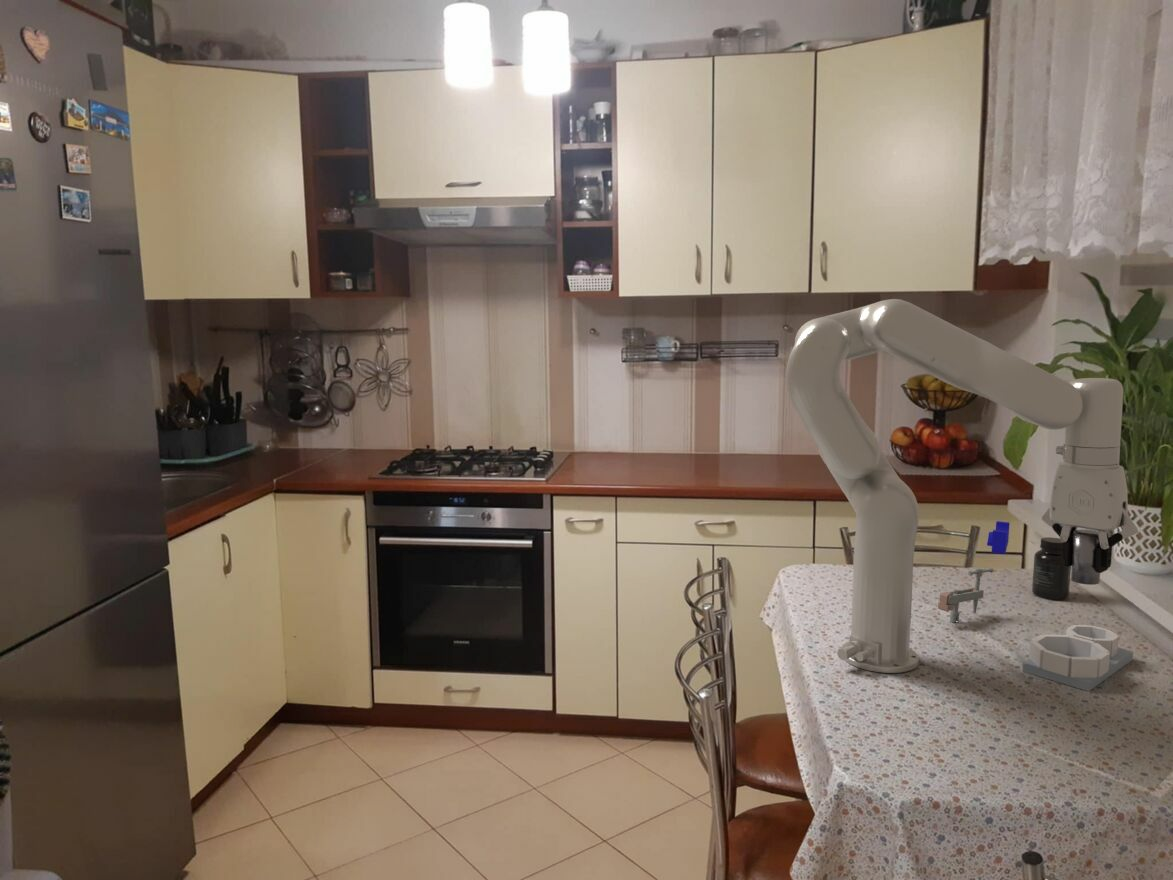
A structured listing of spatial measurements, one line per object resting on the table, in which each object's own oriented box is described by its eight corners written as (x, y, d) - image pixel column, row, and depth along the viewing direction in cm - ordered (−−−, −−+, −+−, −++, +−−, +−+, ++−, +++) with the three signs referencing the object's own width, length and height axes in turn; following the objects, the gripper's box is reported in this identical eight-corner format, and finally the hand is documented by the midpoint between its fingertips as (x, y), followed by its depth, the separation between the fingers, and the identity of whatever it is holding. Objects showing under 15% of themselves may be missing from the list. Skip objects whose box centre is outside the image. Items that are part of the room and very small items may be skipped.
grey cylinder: (1093, 586, 133) (1095, 537, 132) (1066, 580, 136) (1068, 532, 135) (1104, 581, 135) (1106, 532, 134) (1077, 575, 138) (1079, 528, 137)
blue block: (988, 542, 219) (990, 520, 218) (1008, 545, 216) (1009, 522, 215) (984, 553, 208) (986, 530, 207) (1004, 556, 206) (1006, 532, 205)
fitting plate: (1090, 692, 130) (1092, 665, 130) (1019, 671, 138) (1021, 645, 138) (1134, 660, 142) (1136, 634, 142) (1067, 642, 151) (1069, 618, 150)
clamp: (946, 626, 157) (951, 575, 156) (935, 623, 159) (941, 572, 158) (991, 617, 166) (997, 567, 165) (981, 614, 168) (986, 565, 167)
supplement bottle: (1049, 589, 180) (1053, 534, 179) (1076, 598, 174) (1080, 542, 172) (1024, 592, 178) (1027, 537, 177) (1051, 602, 172) (1055, 545, 170)
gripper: (1026, 453, 137) (1022, 561, 140) (1141, 465, 124) (1134, 584, 127) (1048, 448, 142) (1043, 553, 144) (1161, 459, 129) (1154, 574, 131)
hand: (1086, 566), depth 135 cm, fingers closed on grey cylinder, 4 cm apart
